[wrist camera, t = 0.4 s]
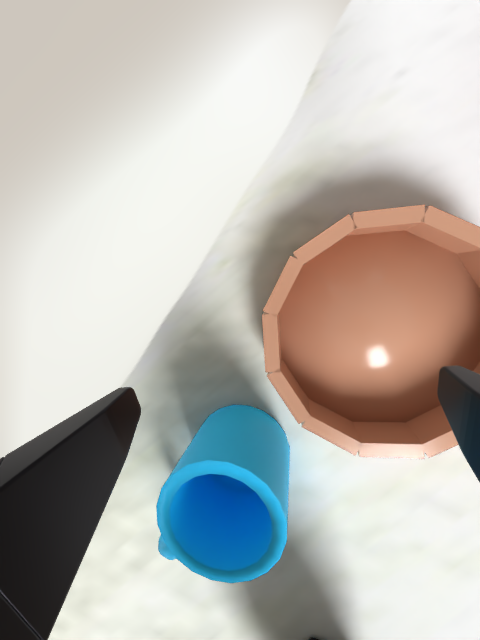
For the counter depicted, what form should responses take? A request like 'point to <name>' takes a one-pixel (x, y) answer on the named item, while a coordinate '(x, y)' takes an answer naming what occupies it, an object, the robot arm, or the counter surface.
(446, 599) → the counter surface
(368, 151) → the counter surface
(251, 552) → the mug
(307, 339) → the bowl
